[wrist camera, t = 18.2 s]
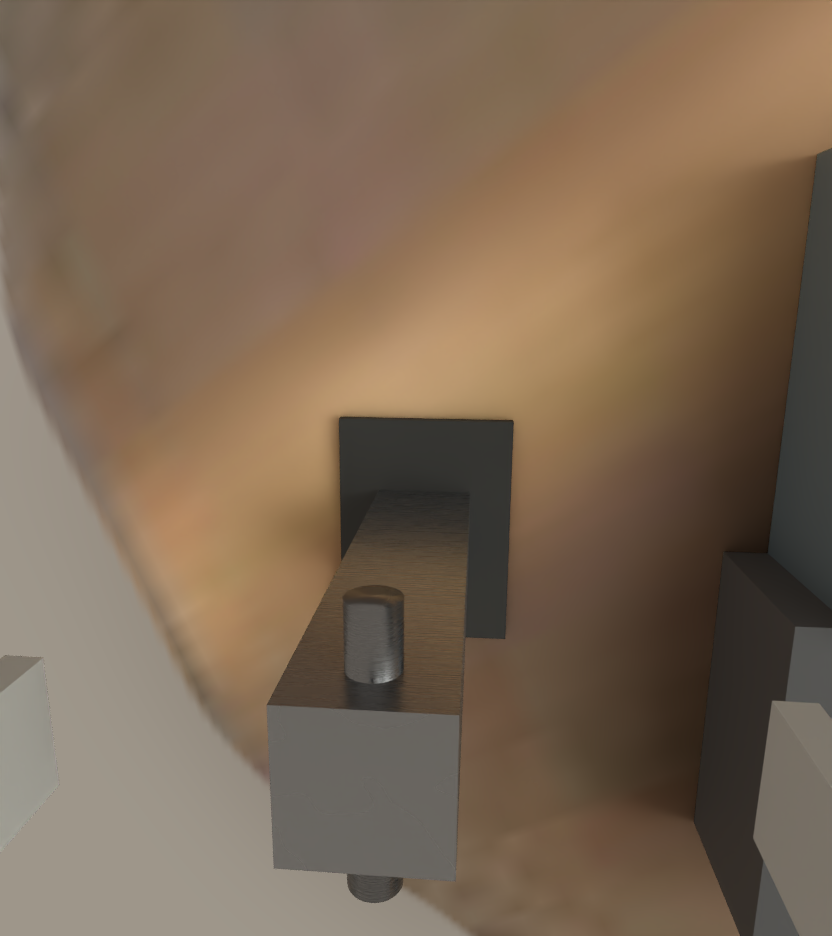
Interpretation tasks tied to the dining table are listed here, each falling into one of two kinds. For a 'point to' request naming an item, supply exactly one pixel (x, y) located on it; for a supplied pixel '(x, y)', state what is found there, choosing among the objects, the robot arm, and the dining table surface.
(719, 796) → the block with square socket
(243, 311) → the dining table surface
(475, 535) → the mat
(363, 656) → the gray block with peg
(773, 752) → the robot arm
